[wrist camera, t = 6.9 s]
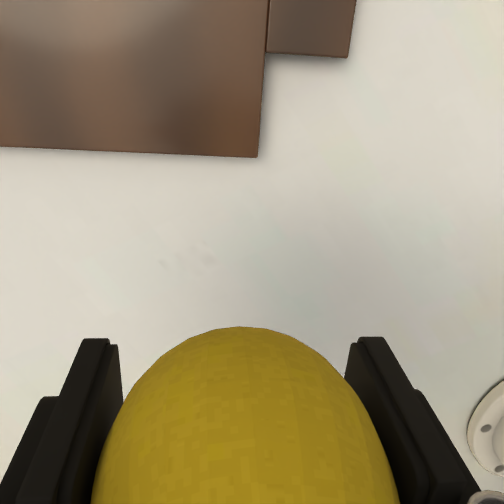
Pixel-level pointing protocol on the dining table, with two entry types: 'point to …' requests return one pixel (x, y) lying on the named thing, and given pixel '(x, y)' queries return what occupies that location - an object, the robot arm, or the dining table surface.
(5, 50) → the cutting board
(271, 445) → the lemon
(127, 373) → the dining table surface
